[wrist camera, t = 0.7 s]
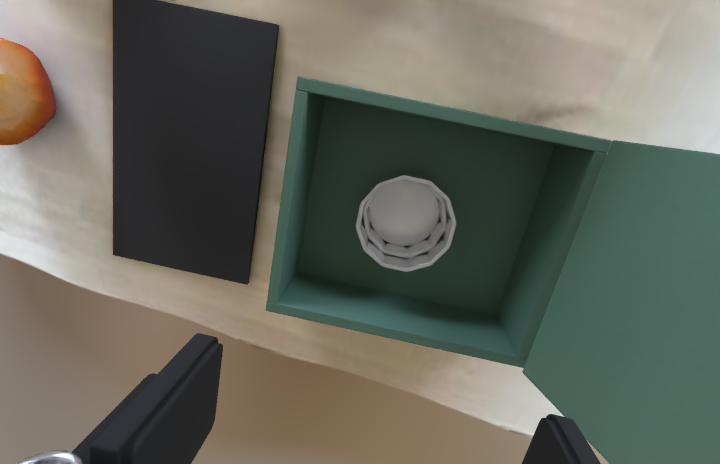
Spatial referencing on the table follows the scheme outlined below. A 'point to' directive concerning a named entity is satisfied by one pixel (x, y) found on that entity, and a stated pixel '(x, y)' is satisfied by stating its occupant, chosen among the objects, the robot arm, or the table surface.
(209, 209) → the mat
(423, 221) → the bowl
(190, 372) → the robot arm
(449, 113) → the open green box
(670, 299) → the lid
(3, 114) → the fruit
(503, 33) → the table surface
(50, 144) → the table surface
